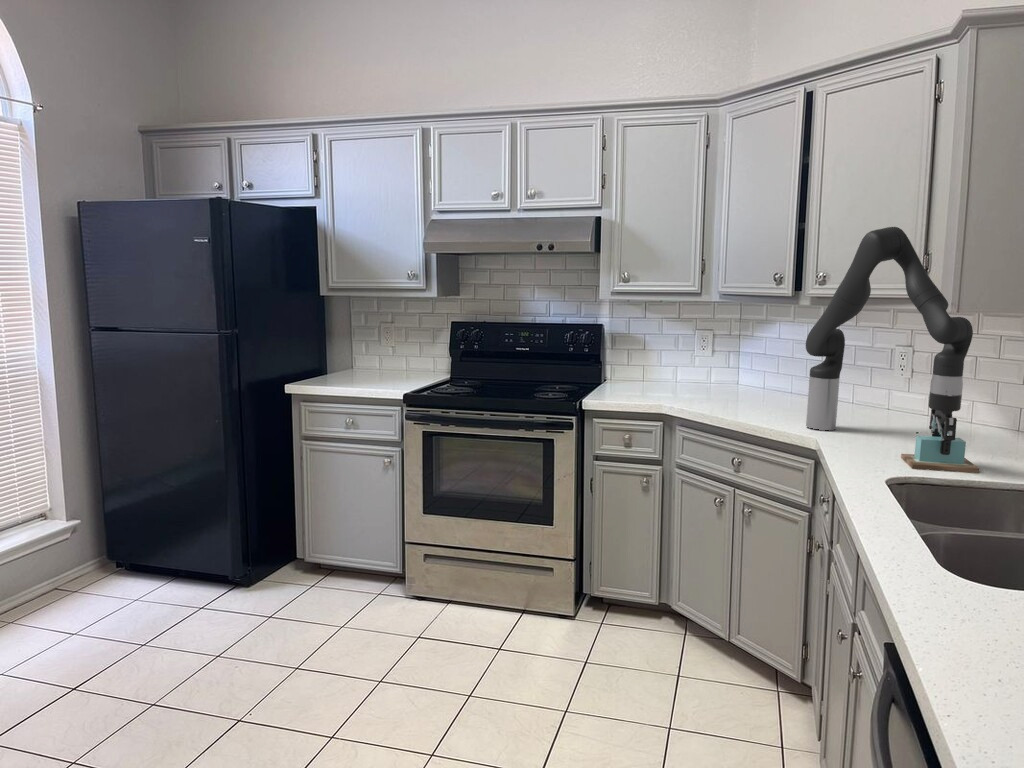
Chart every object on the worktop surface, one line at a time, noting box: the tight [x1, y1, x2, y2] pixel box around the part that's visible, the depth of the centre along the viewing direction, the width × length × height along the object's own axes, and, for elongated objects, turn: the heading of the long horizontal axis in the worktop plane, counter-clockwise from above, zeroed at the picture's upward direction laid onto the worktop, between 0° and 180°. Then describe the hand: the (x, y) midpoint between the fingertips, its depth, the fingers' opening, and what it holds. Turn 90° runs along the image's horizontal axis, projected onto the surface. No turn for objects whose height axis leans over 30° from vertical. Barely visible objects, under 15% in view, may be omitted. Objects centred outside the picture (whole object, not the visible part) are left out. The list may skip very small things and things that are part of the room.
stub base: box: [900, 453, 980, 474], centre depth 206 cm, size 12×16×4 cm
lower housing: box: [914, 435, 967, 464], centre depth 206 cm, size 5×11×6 cm, turn 76°
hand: (940, 450), depth 205 cm, fingers open, 8 cm apart
